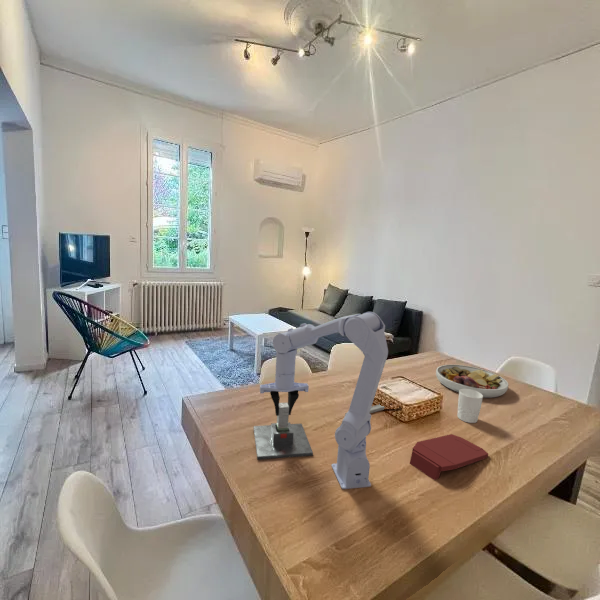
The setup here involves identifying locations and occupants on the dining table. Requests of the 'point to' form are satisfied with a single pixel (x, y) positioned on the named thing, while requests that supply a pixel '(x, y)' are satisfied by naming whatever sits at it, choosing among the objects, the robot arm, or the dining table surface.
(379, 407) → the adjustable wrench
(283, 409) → the post
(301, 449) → the stand
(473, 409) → the white cup
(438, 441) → the dark red bent panel
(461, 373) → the bowl
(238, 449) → the dining table surface
